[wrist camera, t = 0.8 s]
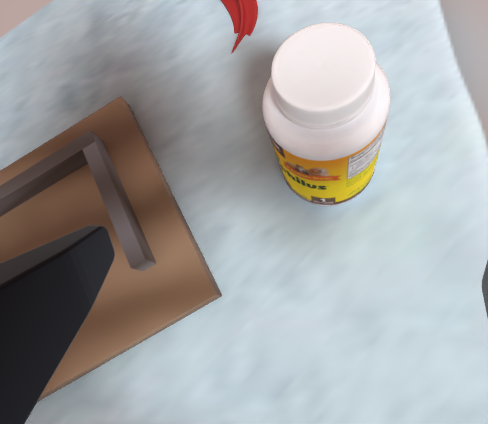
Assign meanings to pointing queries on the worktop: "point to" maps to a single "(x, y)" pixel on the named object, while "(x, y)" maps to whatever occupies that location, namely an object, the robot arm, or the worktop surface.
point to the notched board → (119, 228)
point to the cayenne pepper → (242, 17)
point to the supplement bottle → (326, 112)
